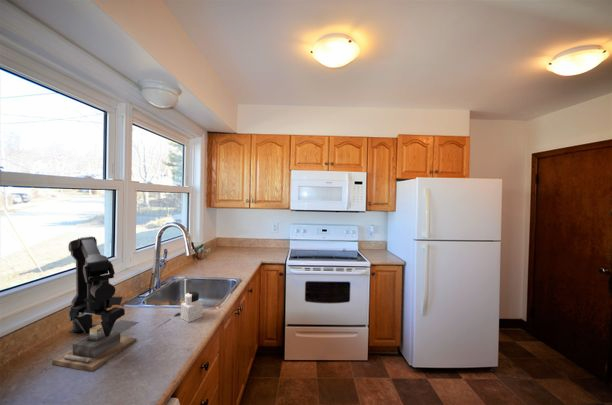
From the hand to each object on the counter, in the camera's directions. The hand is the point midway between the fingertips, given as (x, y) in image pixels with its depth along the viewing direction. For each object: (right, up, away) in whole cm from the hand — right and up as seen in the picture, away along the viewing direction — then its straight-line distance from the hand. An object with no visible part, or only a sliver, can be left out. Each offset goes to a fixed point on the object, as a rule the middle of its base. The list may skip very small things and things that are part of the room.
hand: (97, 334), depth 90 cm
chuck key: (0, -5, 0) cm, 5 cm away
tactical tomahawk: (+14, -7, +20) cm, 25 cm away
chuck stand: (0, -7, 0) cm, 7 cm away
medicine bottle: (+22, -7, +27) cm, 36 cm away
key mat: (-5, -6, +17) cm, 19 cm away
